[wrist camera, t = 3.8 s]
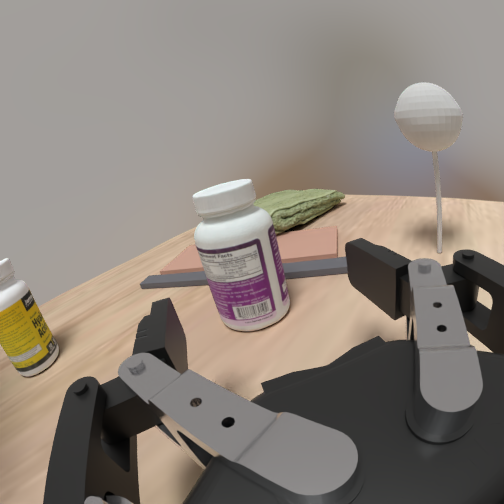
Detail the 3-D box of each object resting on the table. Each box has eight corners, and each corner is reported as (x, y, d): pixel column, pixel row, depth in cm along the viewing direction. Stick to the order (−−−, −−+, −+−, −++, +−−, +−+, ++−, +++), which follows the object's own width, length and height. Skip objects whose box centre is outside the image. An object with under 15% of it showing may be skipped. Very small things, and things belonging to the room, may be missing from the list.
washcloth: (349, 202, 44) (346, 182, 43) (276, 240, 33) (270, 213, 32) (288, 202, 53) (284, 185, 52) (211, 234, 43) (206, 214, 42)
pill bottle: (249, 290, 25) (219, 181, 22) (303, 298, 22) (278, 172, 19) (207, 325, 22) (165, 202, 18) (264, 341, 18) (225, 193, 15)
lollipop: (401, 262, 23) (378, 83, 18) (416, 237, 27) (397, 89, 21) (467, 270, 19) (453, 75, 13) (471, 242, 22) (457, 84, 17)
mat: (141, 288, 31) (139, 284, 31) (184, 249, 41) (183, 246, 41) (348, 272, 24) (347, 266, 24) (345, 229, 33) (344, 224, 33)
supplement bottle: (64, 361, 20) (11, 258, 16) (20, 386, 17) (-38, 287, 13) (58, 338, 24) (16, 251, 20) (19, 359, 21) (-25, 274, 17)
